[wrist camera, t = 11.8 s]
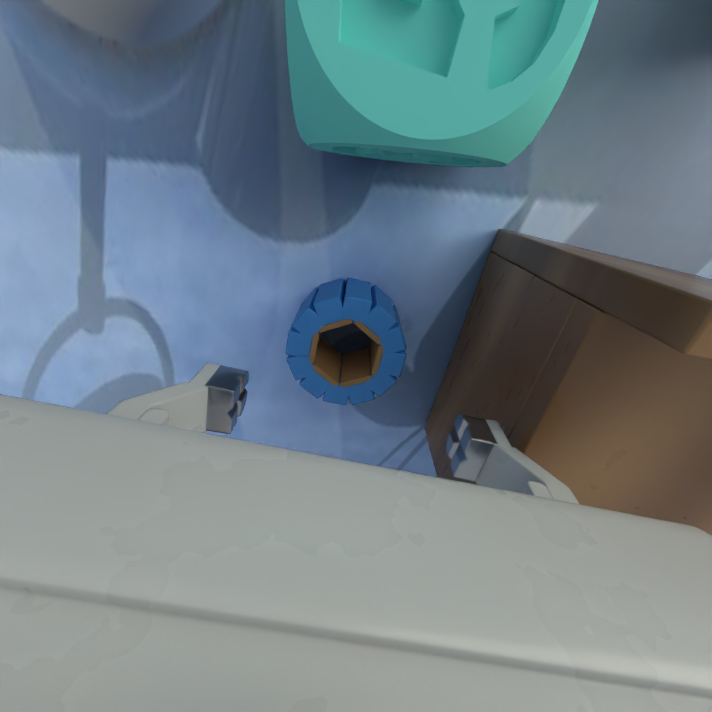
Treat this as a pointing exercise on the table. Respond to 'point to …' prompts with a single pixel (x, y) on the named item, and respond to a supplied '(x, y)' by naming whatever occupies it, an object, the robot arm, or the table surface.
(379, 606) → the robot arm
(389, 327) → the blue grooved cylinder
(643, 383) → the shelf
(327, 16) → the decorative dice
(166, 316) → the table surface
